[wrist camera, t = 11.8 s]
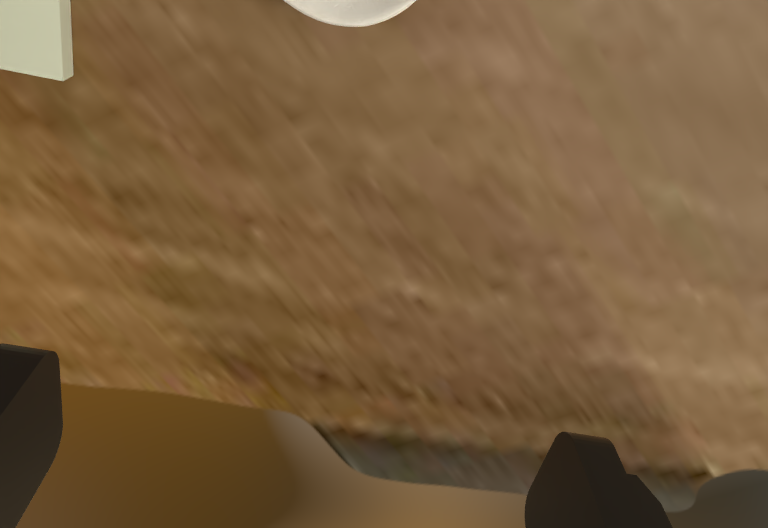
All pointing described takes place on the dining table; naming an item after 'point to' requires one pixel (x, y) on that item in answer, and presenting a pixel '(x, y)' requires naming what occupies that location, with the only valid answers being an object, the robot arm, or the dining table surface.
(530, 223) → the dining table surface
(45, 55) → the pale green square stand
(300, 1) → the spoon rest
